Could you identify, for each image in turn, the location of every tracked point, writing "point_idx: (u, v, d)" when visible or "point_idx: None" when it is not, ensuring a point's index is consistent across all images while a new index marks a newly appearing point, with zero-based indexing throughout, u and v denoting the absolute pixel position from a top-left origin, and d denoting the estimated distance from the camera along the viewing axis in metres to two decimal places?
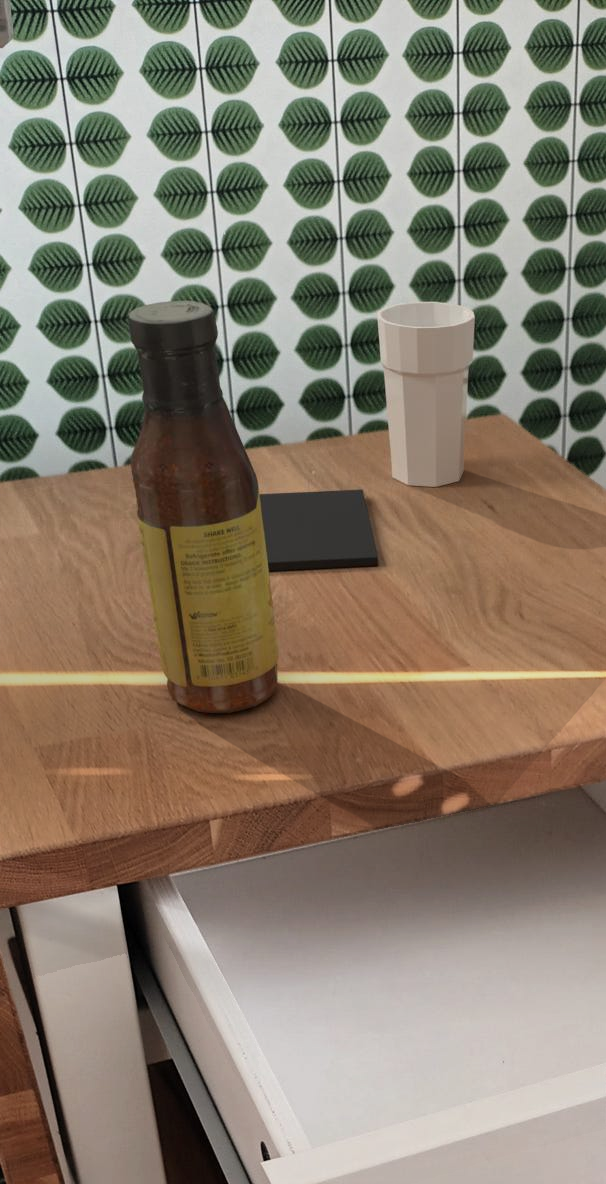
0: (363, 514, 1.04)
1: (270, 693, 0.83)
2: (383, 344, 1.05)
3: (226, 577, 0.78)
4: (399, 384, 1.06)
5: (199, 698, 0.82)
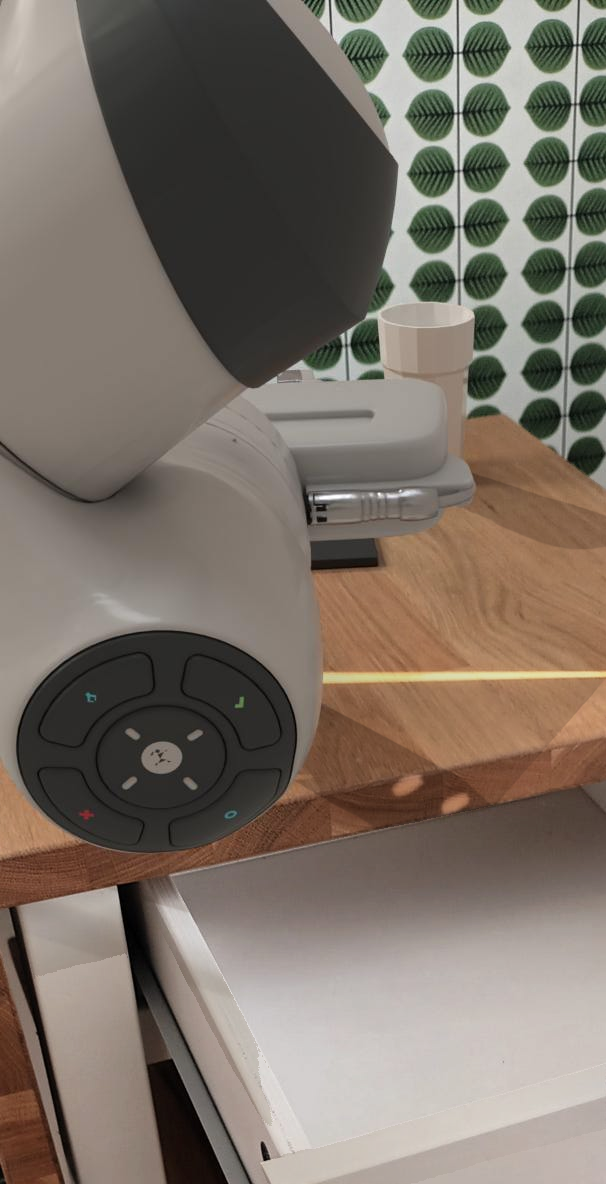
0: None
1: None
2: (383, 344, 1.05)
3: None
4: None
5: None
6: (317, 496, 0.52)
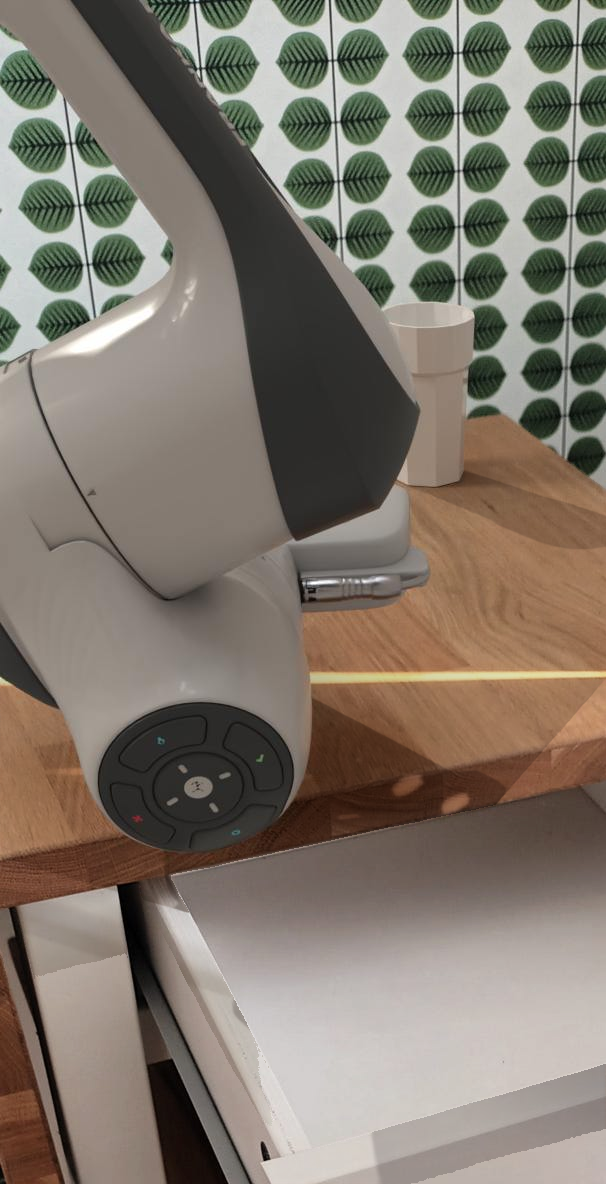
0: None
1: None
2: None
3: None
4: None
5: None
6: (309, 581, 0.68)
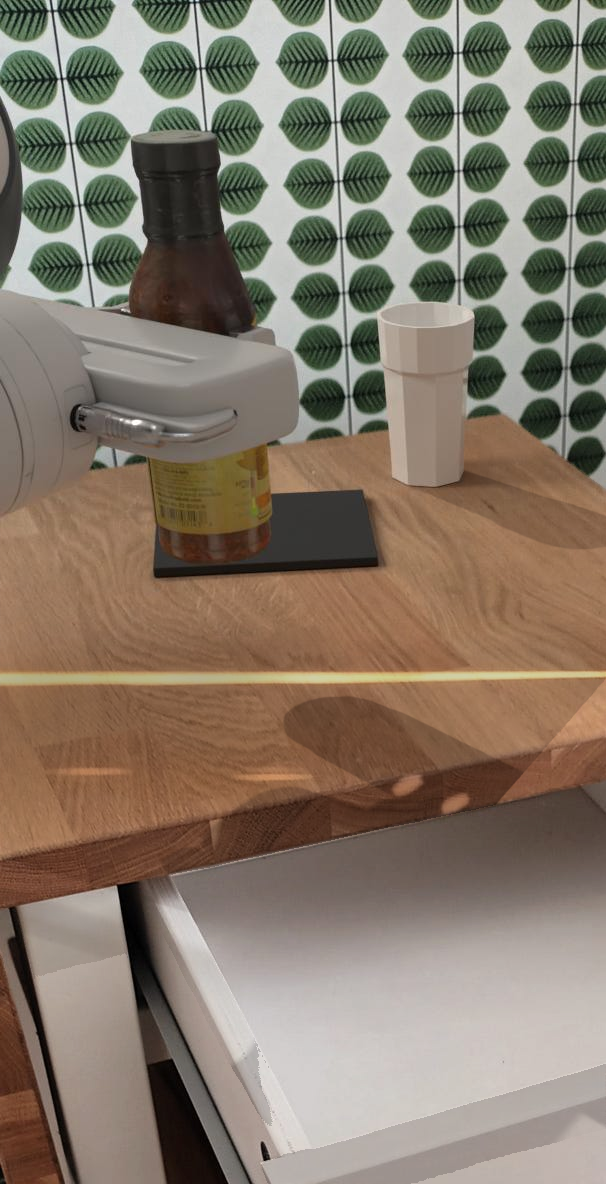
0: (363, 514, 1.04)
1: (232, 557, 0.81)
2: (383, 344, 1.05)
3: None
4: (399, 384, 1.06)
5: (163, 539, 0.81)
6: (83, 409, 0.66)
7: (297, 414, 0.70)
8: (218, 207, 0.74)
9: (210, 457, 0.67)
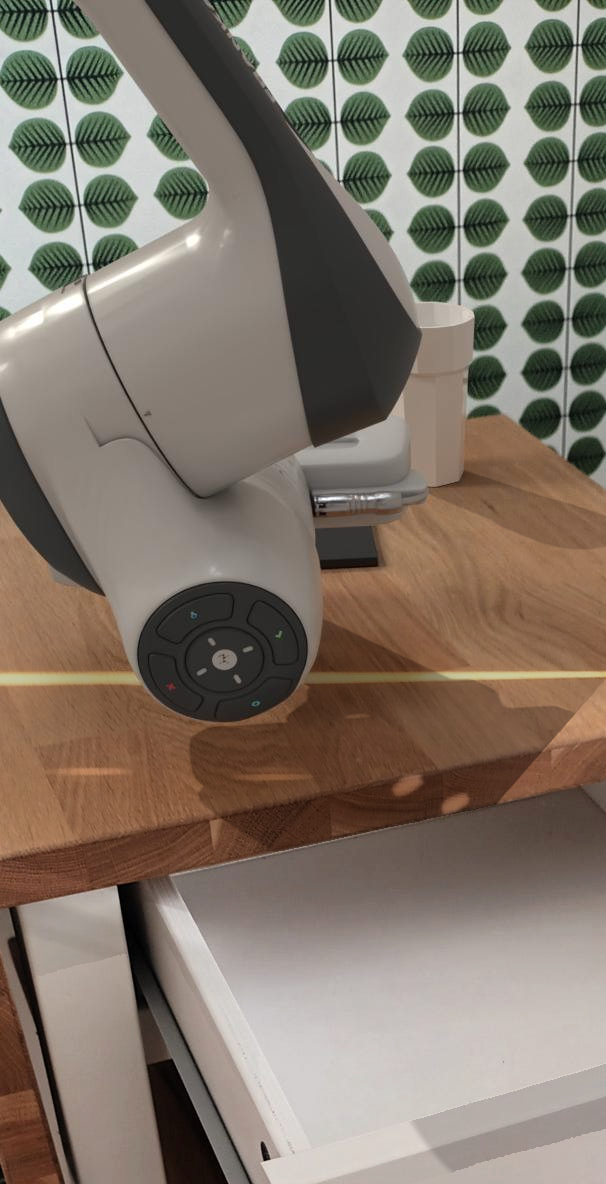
0: None
1: None
2: None
3: None
4: None
5: None
6: (319, 497, 0.76)
7: None
8: None
9: (405, 512, 0.80)
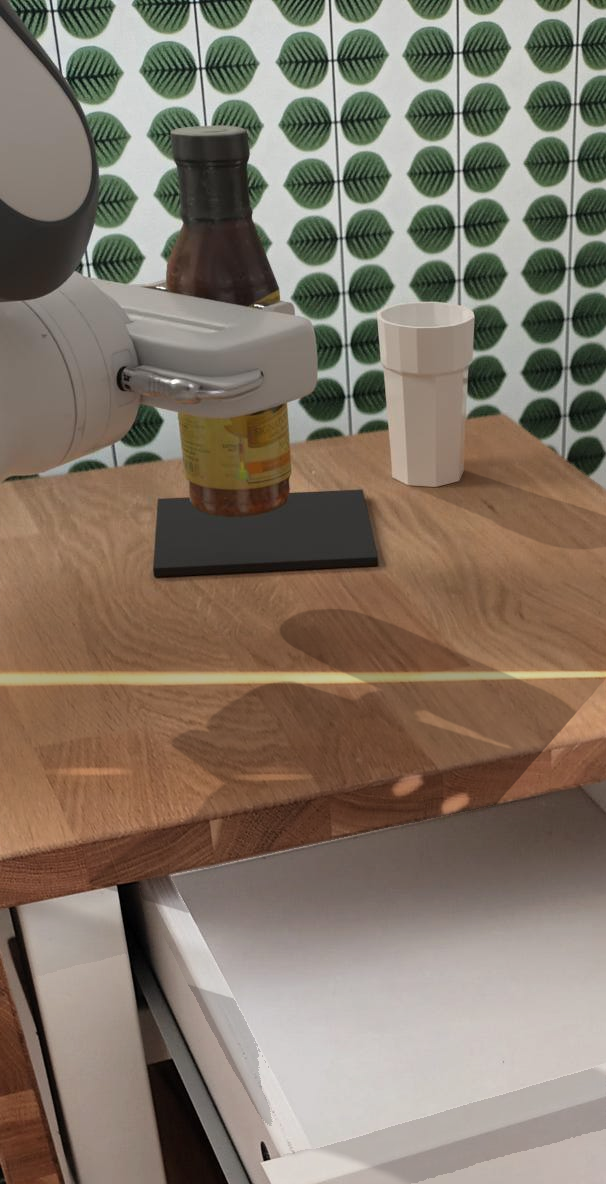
0: (363, 514, 1.04)
1: (221, 512, 0.90)
2: (383, 344, 1.05)
3: None
4: (399, 384, 1.06)
5: None
6: (128, 370, 0.75)
7: (316, 376, 0.79)
8: (233, 197, 0.82)
9: (240, 413, 0.76)
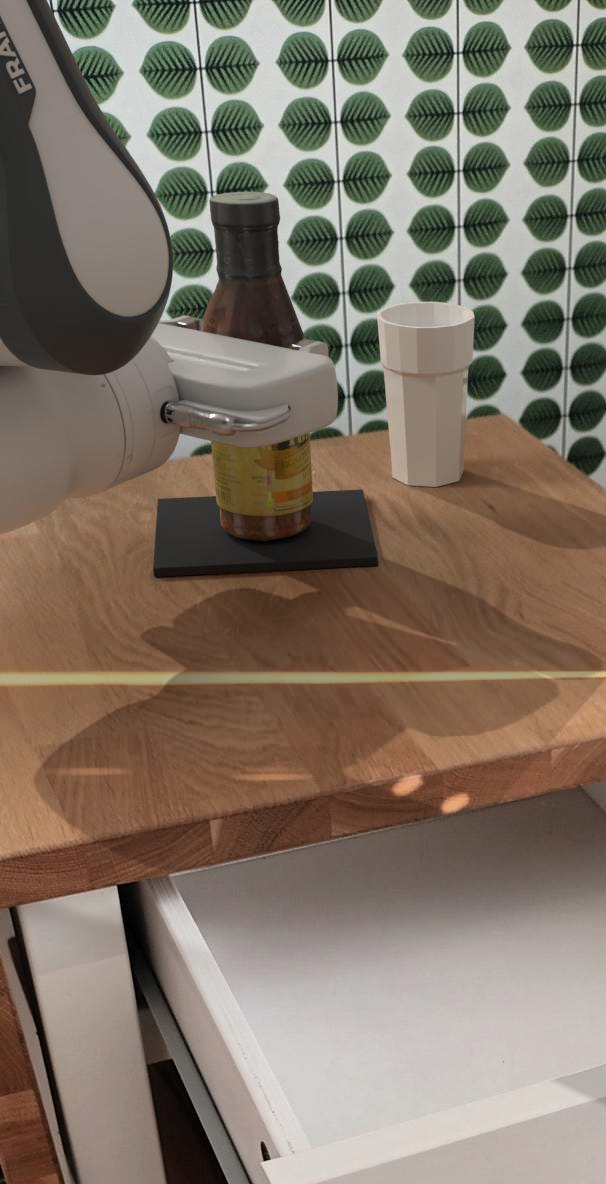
0: (363, 514, 1.04)
1: (249, 536, 0.99)
2: (383, 344, 1.05)
3: None
4: (399, 384, 1.06)
5: None
6: (171, 405, 0.84)
7: (336, 408, 0.88)
8: (265, 257, 0.91)
9: (269, 442, 0.85)
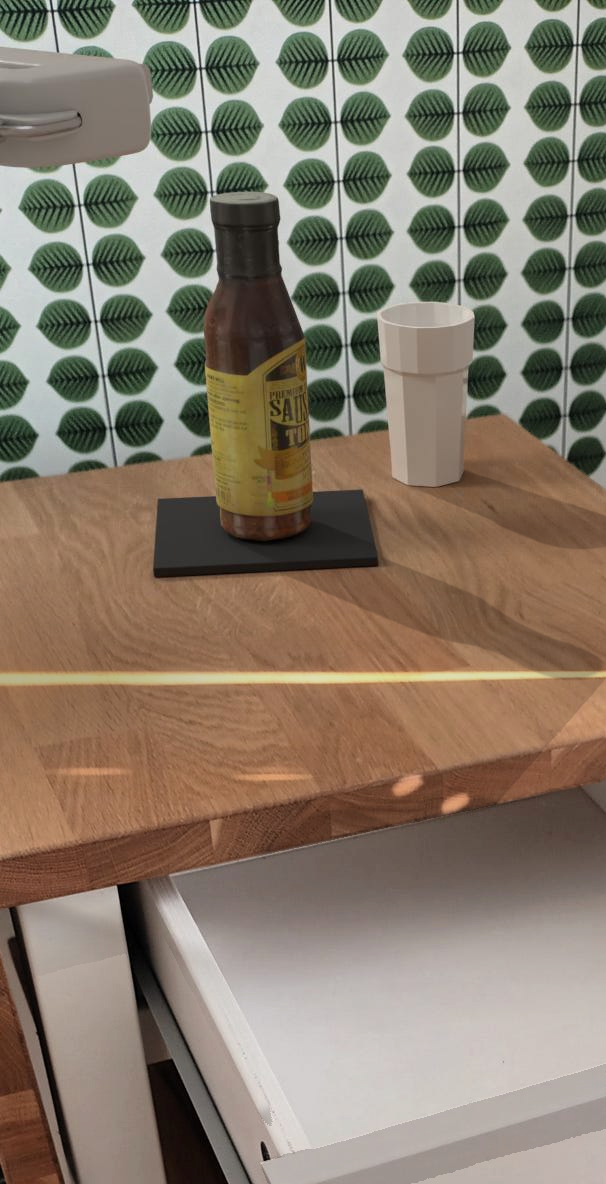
0: (363, 514, 1.04)
1: (249, 536, 0.99)
2: (383, 344, 1.05)
3: (215, 417, 0.96)
4: (399, 384, 1.06)
5: None
6: None
7: (148, 130, 0.70)
8: (265, 257, 0.91)
9: (55, 161, 0.67)
